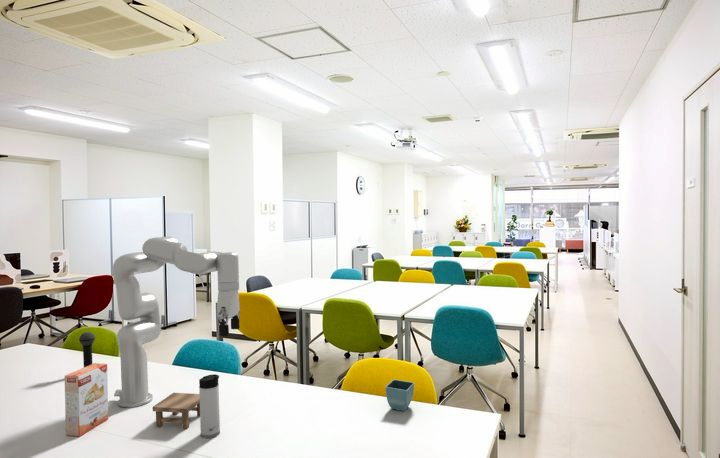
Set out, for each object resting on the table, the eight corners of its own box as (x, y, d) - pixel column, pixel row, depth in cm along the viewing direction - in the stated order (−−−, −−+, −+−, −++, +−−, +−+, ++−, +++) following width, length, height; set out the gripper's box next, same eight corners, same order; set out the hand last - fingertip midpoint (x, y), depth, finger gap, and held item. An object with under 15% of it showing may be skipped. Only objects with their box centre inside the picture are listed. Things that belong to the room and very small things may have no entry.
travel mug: (215, 439, 153) (213, 379, 152) (197, 437, 154) (195, 378, 154) (224, 430, 159) (222, 373, 158) (206, 429, 160) (205, 372, 160)
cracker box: (80, 437, 156) (78, 376, 155) (65, 436, 157) (62, 375, 156) (110, 419, 170) (108, 362, 169) (95, 418, 171) (93, 362, 170)
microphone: (77, 375, 217) (75, 333, 217) (88, 370, 224) (87, 330, 223) (87, 376, 216) (86, 334, 215) (99, 372, 222) (98, 330, 221)
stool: (153, 428, 162) (152, 406, 162) (174, 412, 175) (173, 392, 174) (187, 430, 160) (186, 408, 160) (206, 414, 173) (205, 394, 172)
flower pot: (415, 405, 177) (414, 382, 177) (407, 414, 169) (407, 390, 169) (393, 401, 181) (393, 379, 181) (385, 410, 173) (384, 387, 173)
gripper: (228, 282, 179) (229, 326, 179) (208, 290, 162) (209, 338, 162) (247, 282, 178) (248, 326, 178) (228, 290, 161) (230, 338, 161)
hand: (229, 332), depth 170 cm, fingers open, 9 cm apart
